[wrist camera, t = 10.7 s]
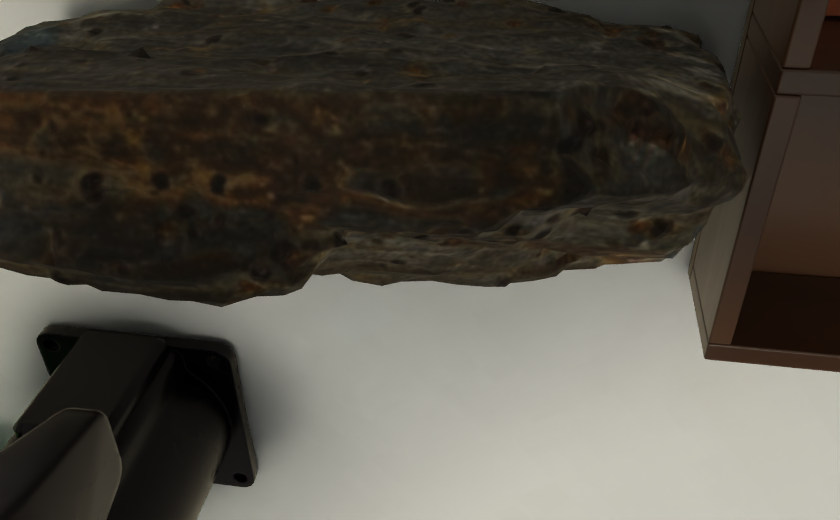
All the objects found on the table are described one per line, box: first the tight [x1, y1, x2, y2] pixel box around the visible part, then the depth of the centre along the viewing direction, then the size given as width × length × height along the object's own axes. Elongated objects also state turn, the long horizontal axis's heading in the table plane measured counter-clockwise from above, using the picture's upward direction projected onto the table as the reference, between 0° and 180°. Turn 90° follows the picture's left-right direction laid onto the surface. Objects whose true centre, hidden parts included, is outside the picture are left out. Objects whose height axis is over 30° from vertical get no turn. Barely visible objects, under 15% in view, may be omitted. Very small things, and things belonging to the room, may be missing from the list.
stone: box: [0, 0, 749, 307], centre depth 16 cm, size 7×8×15 cm
